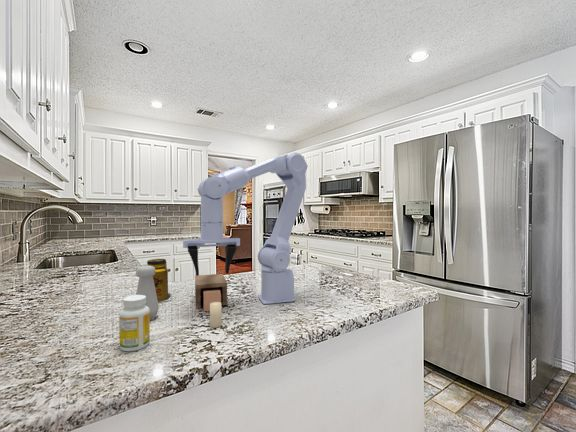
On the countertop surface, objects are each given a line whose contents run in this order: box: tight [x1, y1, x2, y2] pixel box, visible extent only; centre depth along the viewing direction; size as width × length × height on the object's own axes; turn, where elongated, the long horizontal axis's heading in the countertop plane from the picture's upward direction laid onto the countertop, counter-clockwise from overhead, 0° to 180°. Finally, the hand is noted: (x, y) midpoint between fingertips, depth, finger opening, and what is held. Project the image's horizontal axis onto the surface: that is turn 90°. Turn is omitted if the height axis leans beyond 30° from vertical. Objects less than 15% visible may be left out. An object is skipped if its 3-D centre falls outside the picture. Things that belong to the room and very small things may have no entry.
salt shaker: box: [135, 265, 160, 321], centre depth 72 cm, size 6×6×13 cm
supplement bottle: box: [118, 294, 151, 352], centre depth 58 cm, size 5×5×10 cm
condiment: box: [146, 258, 172, 303], centre depth 89 cm, size 7×8×12 cm
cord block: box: [202, 289, 223, 329], centre depth 74 cm, size 4×16×5 cm, turn 18°
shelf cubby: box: [194, 273, 228, 309], centre depth 87 cm, size 8×12×6 cm
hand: (212, 273), depth 78 cm, fingers open, 7 cm apart
